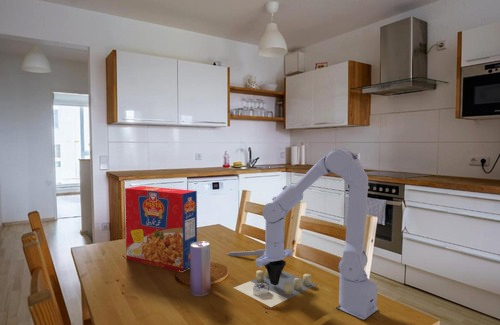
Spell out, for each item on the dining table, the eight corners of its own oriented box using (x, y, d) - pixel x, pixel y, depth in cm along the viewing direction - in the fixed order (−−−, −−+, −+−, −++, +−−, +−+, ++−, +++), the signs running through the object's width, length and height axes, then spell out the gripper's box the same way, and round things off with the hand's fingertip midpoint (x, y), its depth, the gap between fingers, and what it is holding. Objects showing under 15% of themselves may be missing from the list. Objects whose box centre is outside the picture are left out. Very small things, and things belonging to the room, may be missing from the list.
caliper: (274, 262, 123) (274, 246, 123) (273, 263, 122) (273, 247, 122) (227, 255, 132) (227, 239, 131) (226, 255, 131) (226, 240, 130)
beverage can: (191, 298, 94) (191, 247, 93) (189, 289, 100) (189, 241, 99) (211, 295, 96) (211, 246, 95) (208, 287, 102) (208, 240, 101)
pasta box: (126, 259, 125) (125, 188, 124) (141, 253, 133) (140, 185, 131) (183, 272, 113) (182, 193, 111) (197, 265, 120) (196, 190, 118)
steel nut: (272, 293, 95) (272, 286, 95) (262, 298, 92) (262, 291, 92) (260, 287, 99) (260, 281, 99) (250, 292, 96) (250, 285, 96)
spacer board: (316, 287, 101) (317, 275, 101) (271, 310, 87) (271, 296, 87) (279, 272, 113) (279, 261, 113) (233, 290, 99) (233, 278, 99)
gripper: (280, 233, 107) (280, 273, 108) (248, 242, 97) (248, 286, 98) (297, 238, 102) (296, 280, 102) (265, 248, 92) (265, 294, 92)
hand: (274, 283), depth 100 cm, fingers closed
